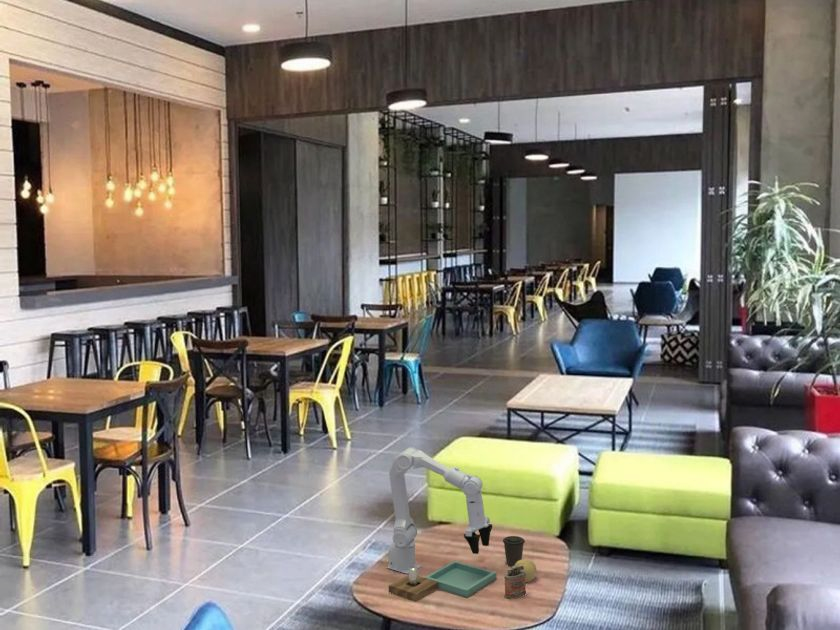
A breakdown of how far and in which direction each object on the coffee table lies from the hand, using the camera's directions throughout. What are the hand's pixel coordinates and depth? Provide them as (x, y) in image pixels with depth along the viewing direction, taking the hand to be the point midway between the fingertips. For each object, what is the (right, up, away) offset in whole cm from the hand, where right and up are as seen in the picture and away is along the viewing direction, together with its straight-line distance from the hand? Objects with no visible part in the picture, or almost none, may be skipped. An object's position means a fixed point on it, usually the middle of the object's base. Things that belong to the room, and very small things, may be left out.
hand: (480, 549), depth 288 cm
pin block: (-24, -12, -8) cm, 28 cm away
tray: (-7, -11, -2) cm, 13 cm away
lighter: (+11, -12, -13) cm, 21 cm away
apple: (+15, -11, -1) cm, 19 cm away
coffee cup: (+13, -9, +12) cm, 20 cm away
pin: (-24, -12, -8) cm, 28 cm away
